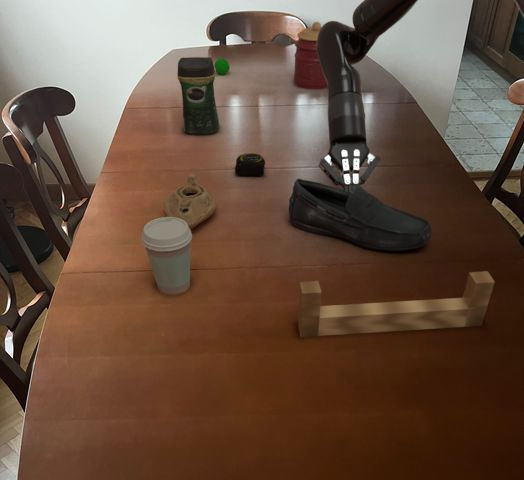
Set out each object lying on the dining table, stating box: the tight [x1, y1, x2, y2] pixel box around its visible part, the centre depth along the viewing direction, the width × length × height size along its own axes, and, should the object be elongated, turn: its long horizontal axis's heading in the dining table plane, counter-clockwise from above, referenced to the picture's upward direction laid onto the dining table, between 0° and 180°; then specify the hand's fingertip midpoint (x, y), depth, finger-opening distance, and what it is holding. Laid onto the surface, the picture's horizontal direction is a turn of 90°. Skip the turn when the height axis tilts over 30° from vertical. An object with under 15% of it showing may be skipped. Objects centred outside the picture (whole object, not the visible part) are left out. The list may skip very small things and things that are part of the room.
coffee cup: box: [141, 216, 193, 296], centre depth 103 cm, size 8×8×12 cm
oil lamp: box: [163, 173, 217, 230], centre depth 122 cm, size 11×15×8 cm
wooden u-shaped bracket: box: [297, 270, 495, 338], centre depth 95 cm, size 30×3×9 cm, turn 94°
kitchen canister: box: [293, 21, 327, 90], centre depth 183 cm, size 13×13×18 cm
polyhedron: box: [213, 57, 230, 76], centre depth 195 cm, size 5×5×5 cm
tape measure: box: [234, 152, 266, 177], centre depth 140 cm, size 7×7×4 cm
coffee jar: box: [177, 56, 220, 136], centre depth 155 cm, size 10×8×19 cm
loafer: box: [288, 178, 432, 253], centre depth 115 cm, size 10×29×10 cm, turn 68°
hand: (351, 204), depth 121 cm, fingers closed
